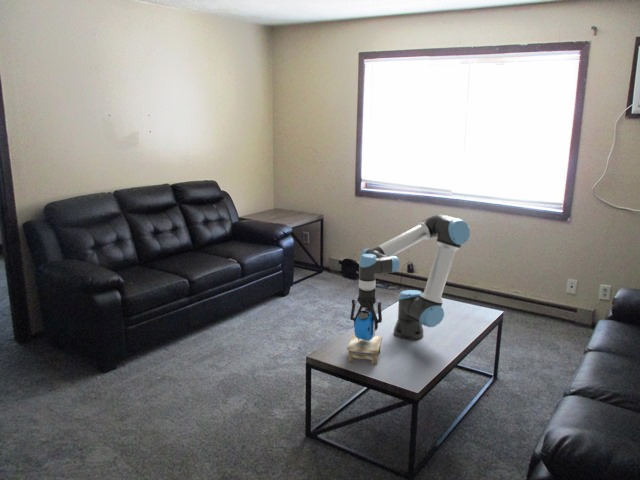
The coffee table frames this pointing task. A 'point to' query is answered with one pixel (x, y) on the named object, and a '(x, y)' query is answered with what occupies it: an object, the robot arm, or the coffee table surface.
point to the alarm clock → (364, 325)
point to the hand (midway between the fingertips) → (365, 334)
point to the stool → (364, 348)
